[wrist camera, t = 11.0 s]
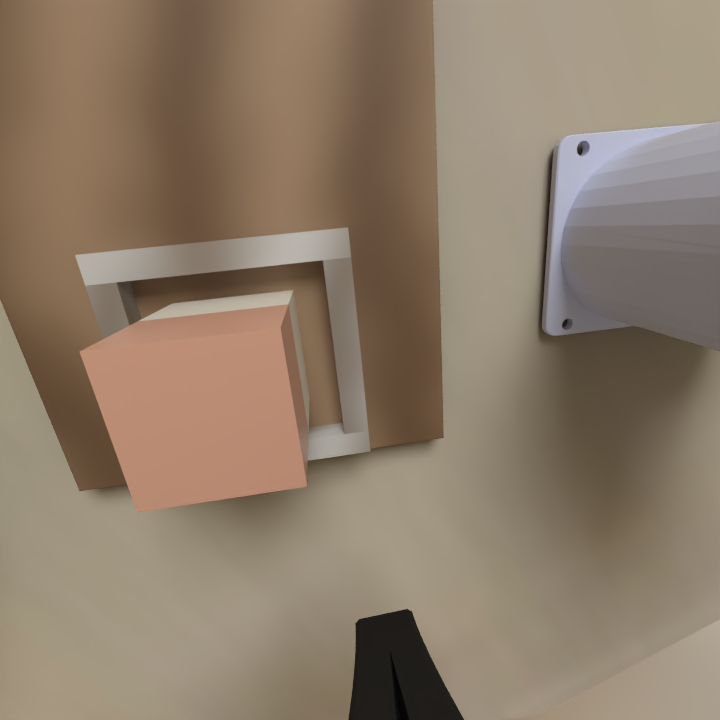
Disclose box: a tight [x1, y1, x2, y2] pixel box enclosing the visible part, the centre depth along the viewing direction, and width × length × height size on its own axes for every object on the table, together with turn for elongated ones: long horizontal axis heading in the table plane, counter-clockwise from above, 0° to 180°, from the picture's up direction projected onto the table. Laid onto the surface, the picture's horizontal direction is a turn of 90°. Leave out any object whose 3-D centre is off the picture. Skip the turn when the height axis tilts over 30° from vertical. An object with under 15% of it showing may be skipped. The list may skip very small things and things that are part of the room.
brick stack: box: [80, 290, 310, 512], centre depth 12 cm, size 4×4×6 cm
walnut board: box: [0, 0, 444, 491], centre depth 13 cm, size 16×24×2 cm, turn 5°
